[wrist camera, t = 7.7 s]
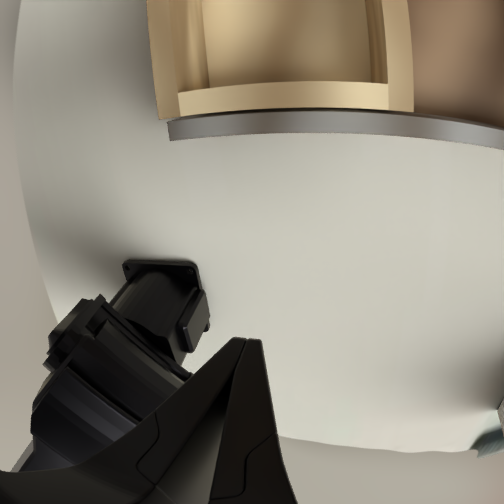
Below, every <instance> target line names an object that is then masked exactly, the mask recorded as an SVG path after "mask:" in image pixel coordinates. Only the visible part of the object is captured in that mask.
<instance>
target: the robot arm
mask: <svg viewBox="0 0 504 504" xmlns="http://www.w3.org/2000/svg"><path fill="white" fill-rule="evenodd" d="M127 265H128V266H129V267H130V268H129V267H128V266H127ZM122 268H123V271H124V274H125V277H126V280H127V282H126V283H125V284H124V286H123V287H122V288H121V289H120V290H119V292H118V293H117V294H116V295H115V296H114V298H113V299H112V300H111V301H110V303H108V302H107V301H106V299H105V298H104V297H103V296H102V295H101V294H99V296H98V297H97V298H96V299H95V300H93V299H91V300H87V299H83V298H82V299H81V300H80V301H79V303H78V304H77V305H76V306H75V307H74V308H73V309H72V311H71V312H70V313H69V314H68V315H67V316H66V317H65V318H64V319H63V320H62V321H61V322H60V323H59V324H58V325H57V326H56V327H55V328H54V330H53V331H52V332H51V333H50V335H49V336H48V339H49V351H48V352H47V354H48V355H49V357H48V358H47V359H46V361H45V362H44V363H43V366H44V367H46V368H47V369H48V370H49V371H51V373H50V374H49V376H48V377H47V378H46V379H45V381H44V382H43V384H42V386H41V388H40V390H39V392H38V394H37V396H36V398H35V400H34V402H33V406H32V415H31V430H30V431H31V434H32V435H33V440H32V441H31V443H30V444H29V445H28V447H27V448H26V450H25V451H24V452H23V454H22V455H21V457H20V458H19V460H18V461H17V463H16V464H15V465H14V467H13V468H12V470H11V471H10V472H5V471H1V470H0V504H298V502H297V500H296V497H295V494H294V492H293V489H292V486H291V483H290V481H289V478H288V475H287V472H286V468H285V465H284V462H283V458H282V453H281V448H280V444H279V438H278V434H277V427H276V421H275V415H274V410H273V404H272V398H271V392H270V386H269V380H268V375H267V369H266V363H265V357H264V351H263V345H262V341H261V340H260V339H252V338H249V339H246V338H241V337H233V338H231V339H230V340H229V341H228V342H227V343H226V344H225V345H224V346H223V347H222V348H221V349H220V350H219V351H218V352H217V353H216V354H215V355H214V356H213V357H212V358H211V359H209V360H208V361H207V362H206V363H205V364H204V365H203V366H202V367H201V368H200V369H199V370H198V371H197V372H196V373H195V374H193V373H191V372H188V371H187V370H185V369H184V368H183V367H182V366H181V365H182V363H183V361H184V359H185V357H186V354H187V353H193V352H194V351H195V349H196V346H197V344H198V342H199V340H200V338H201V335H202V333H203V332H207V331H208V330H209V328H210V323H209V318H210V313H209V308H208V303H207V299H206V294H205V291H204V290H203V289H202V286H201V281H200V276H199V271H198V268H197V266H196V265H195V264H193V263H182V262H161V261H141V260H126V261H125V262H124V263H123V264H122ZM189 269H191V270H192V271H193V272H192V271H190V270H189Z"/></svg>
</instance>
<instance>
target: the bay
mask: <svg viewBox="0 0 504 504" xmlns="http://www.w3.org/2000/svg"><path fill="white" fill-rule="evenodd" d="M407 4H408V12H409V21H410V31H411V43H412V58H413V83H414V112H405V111H393V110H380V109H363V108H333V107H298V108H268V109H250V110H236V111H225V112H214V113H205V114H196V115H188V116H184V117H181V118H178V119H175V120H172V121H169V122H167V124H168V132H169V138H170V141H174V140H183V139H193V138H203V137H215V136H229V135H245V134H267V133H353V134H374V135H390V136H403V137H415V138H425V139H434V140H443V141H450V142H458V143H465V144H472V145H478V146H484V147H490V148H496V149H501V150H504V0H407Z"/></svg>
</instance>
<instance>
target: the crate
mask: <svg viewBox="0 0 504 504" xmlns="http://www.w3.org/2000/svg"><path fill="white" fill-rule="evenodd" d="M146 3H147V17H148V29H149V40H150V51H151V60H152V69H153V78H154V86H155V94H156V102H157V110H158V117H159V120H160V119H166V118H173V117H180V116H188V115H196V114H205V113H214V112H225V111H236V110H250V109H268V108H298V107H333V108H363V109H380V110H393V111H405V112H414V83H413V58H412V43H411V31H410V21H409V12H408V4H407V0H146Z"/></svg>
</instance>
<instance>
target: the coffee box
mask: <svg viewBox="0 0 504 504" xmlns="http://www.w3.org/2000/svg"><path fill="white" fill-rule="evenodd" d="M497 412H498V415H499V419H500V423H501V427H502V431H503V435H504V399H503V401H502V403H501V405H500V407H499V409H498V411H497Z"/></svg>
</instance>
